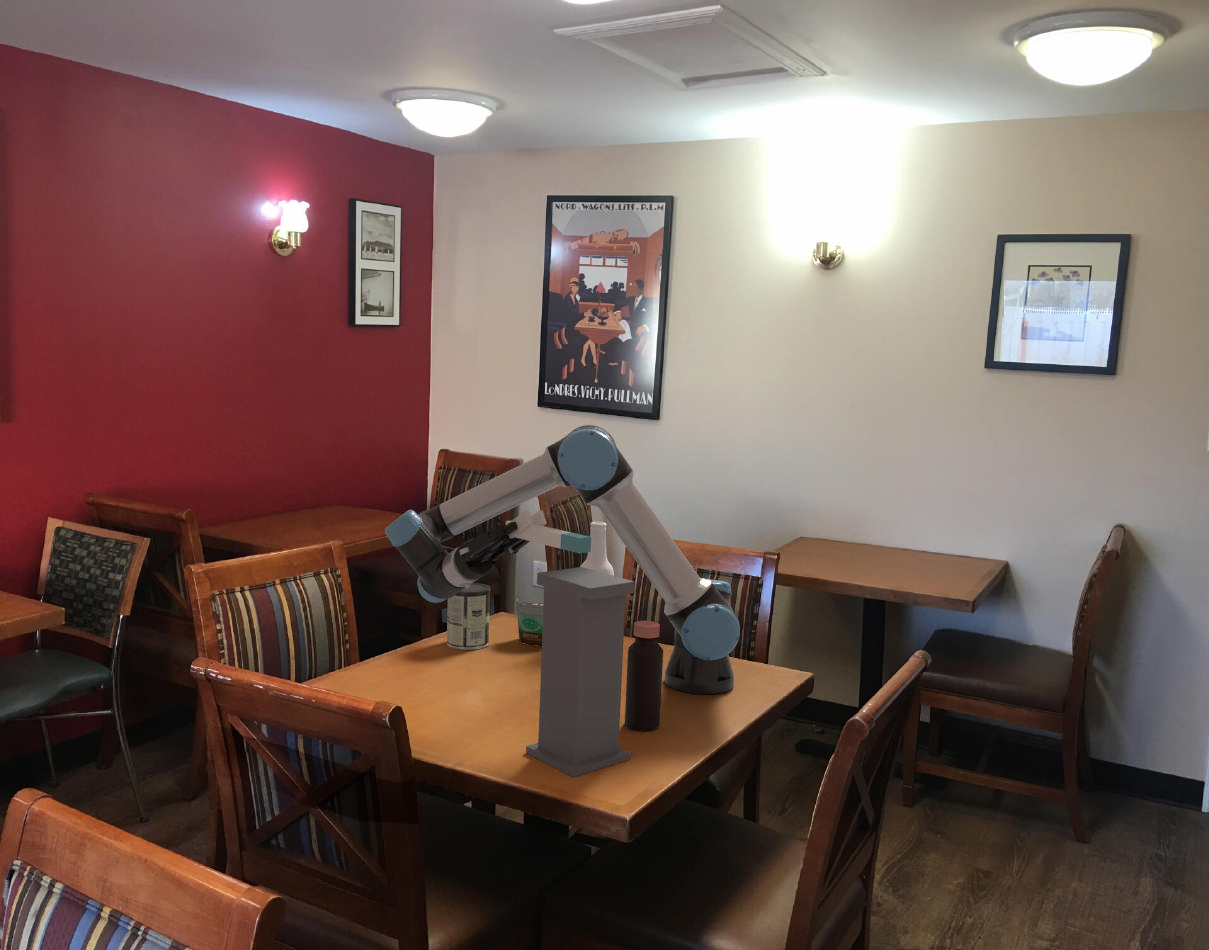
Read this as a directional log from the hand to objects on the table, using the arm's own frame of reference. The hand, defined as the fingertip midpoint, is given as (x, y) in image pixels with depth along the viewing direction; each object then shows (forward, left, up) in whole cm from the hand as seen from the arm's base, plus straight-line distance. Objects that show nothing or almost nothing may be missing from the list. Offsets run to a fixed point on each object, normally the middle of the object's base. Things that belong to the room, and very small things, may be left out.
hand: (535, 517), depth 182 cm
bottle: (-21, -8, -41) cm, 46 cm away
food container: (+6, -60, -41) cm, 73 cm away
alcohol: (-8, -64, -41) cm, 76 cm away
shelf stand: (-10, +9, -40) cm, 43 cm away
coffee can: (+22, -56, -41) cm, 72 cm away
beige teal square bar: (-2, +2, -4) cm, 5 cm away
